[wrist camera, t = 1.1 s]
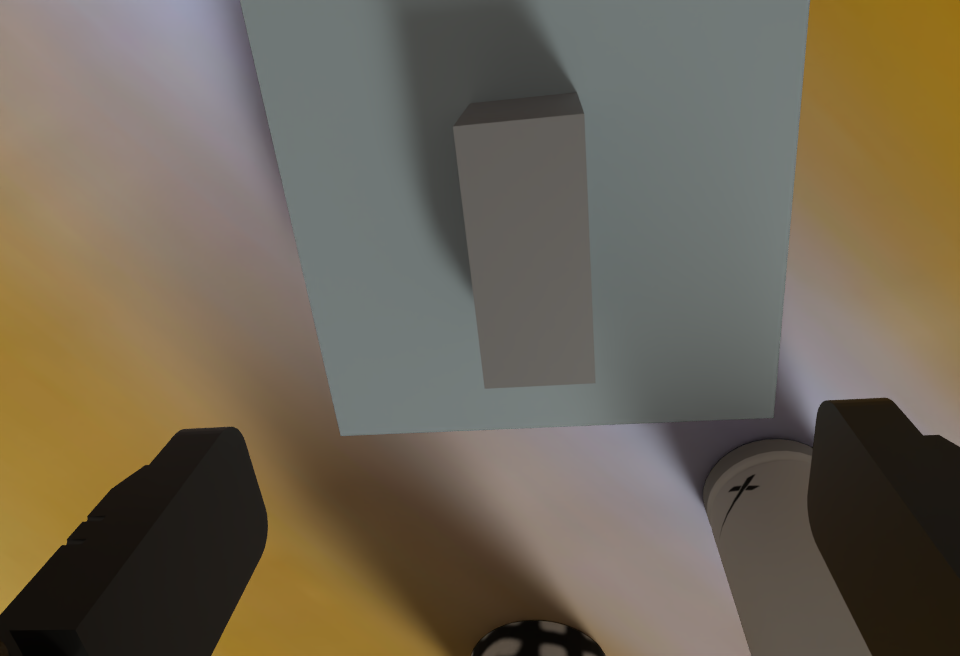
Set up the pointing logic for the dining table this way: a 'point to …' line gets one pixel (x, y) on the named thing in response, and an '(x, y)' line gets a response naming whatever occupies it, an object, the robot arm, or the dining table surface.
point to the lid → (538, 203)
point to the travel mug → (776, 553)
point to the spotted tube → (536, 641)
